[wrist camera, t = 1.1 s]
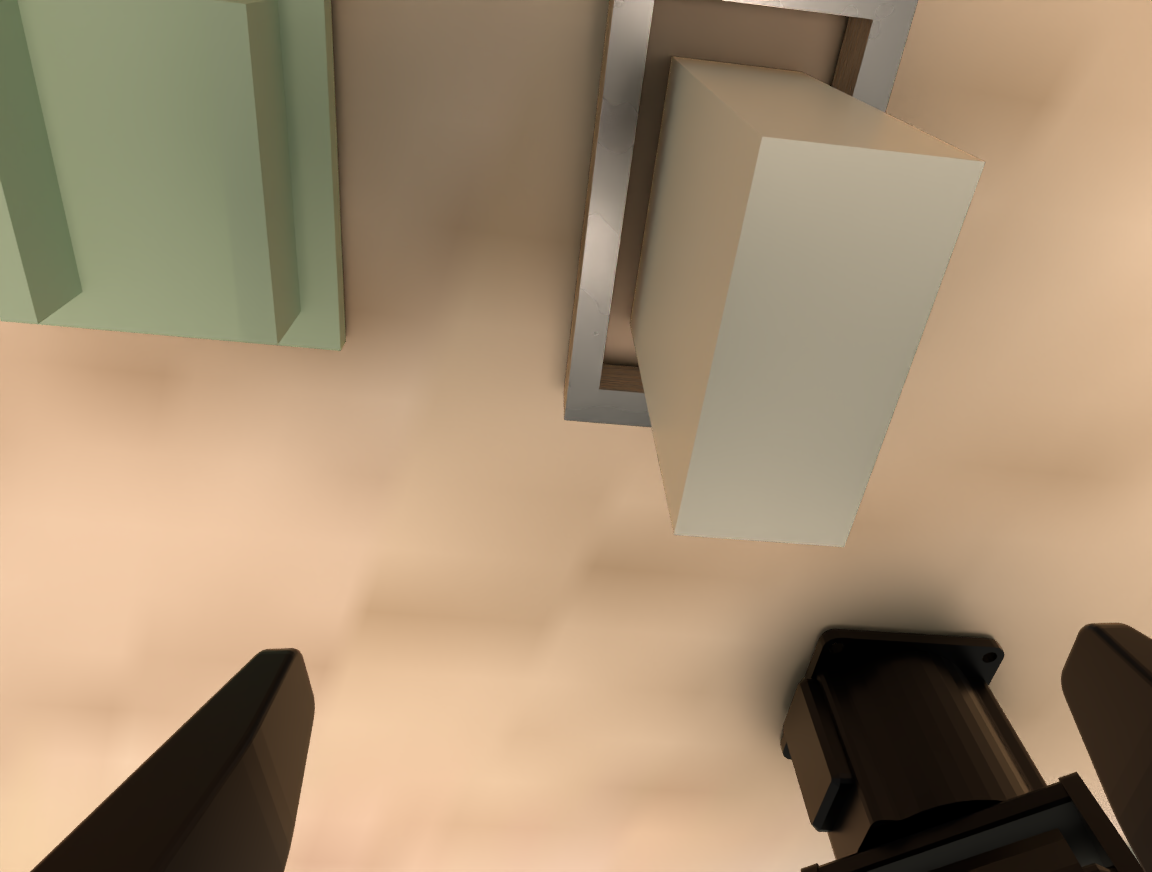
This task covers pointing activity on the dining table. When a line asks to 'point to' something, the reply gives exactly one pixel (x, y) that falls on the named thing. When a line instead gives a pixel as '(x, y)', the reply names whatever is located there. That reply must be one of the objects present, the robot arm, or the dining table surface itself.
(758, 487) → the long rectangular block
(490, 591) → the dining table surface
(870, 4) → the frame
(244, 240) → the holder
